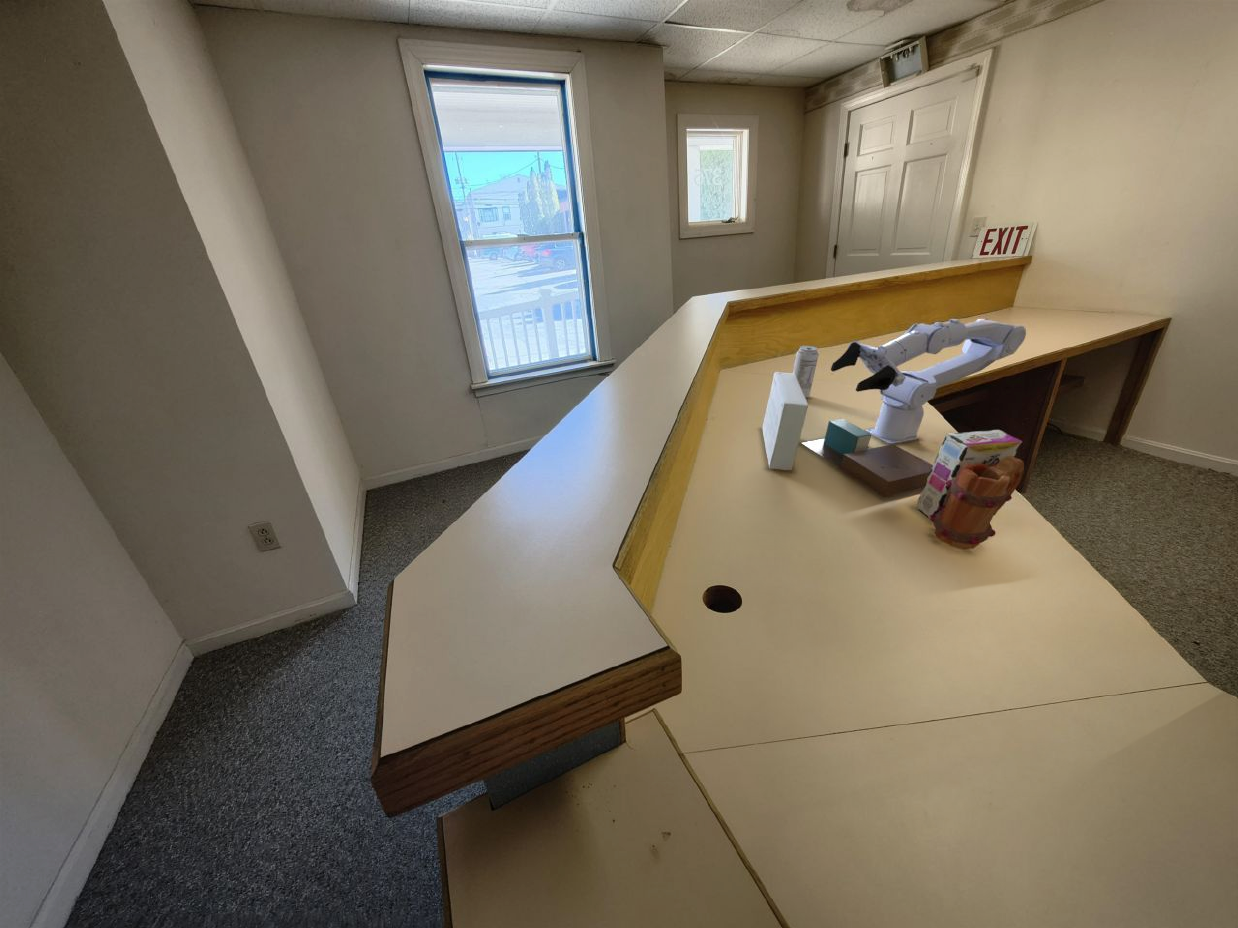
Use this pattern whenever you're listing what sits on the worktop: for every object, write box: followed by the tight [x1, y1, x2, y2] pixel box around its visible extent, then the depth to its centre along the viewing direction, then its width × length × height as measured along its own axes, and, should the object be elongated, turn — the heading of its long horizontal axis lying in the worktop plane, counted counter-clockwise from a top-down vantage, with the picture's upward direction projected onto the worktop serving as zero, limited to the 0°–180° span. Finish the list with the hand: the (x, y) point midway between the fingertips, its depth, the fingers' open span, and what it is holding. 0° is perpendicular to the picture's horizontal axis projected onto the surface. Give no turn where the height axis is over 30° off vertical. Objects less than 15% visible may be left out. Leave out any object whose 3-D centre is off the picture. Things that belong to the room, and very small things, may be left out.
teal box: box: [823, 418, 873, 456], centre depth 106 cm, size 4×9×6 cm, turn 19°
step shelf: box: [801, 437, 933, 498], centre depth 102 cm, size 14×25×4 cm, turn 19°
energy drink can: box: [792, 345, 820, 400], centre depth 134 cm, size 6×6×15 cm
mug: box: [930, 456, 1025, 551], centre depth 77 cm, size 15×8×15 cm, turn 114°
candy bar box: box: [914, 429, 1023, 522], centre depth 83 cm, size 11×5×16 cm, turn 100°
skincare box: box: [761, 371, 809, 471], centre depth 105 cm, size 21×6×16 cm, turn 168°
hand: (845, 377), depth 99 cm, fingers open, 7 cm apart
